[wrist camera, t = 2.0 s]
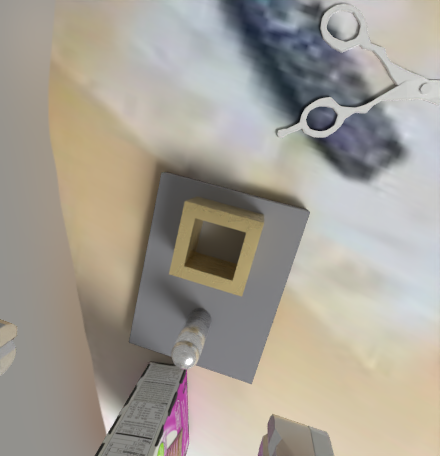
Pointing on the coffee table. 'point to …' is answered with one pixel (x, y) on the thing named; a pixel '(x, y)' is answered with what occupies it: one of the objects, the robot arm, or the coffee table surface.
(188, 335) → the steel post
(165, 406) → the candy bar box
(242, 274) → the brass collar
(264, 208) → the slate mat
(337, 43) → the scissors
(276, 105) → the coffee table surface
